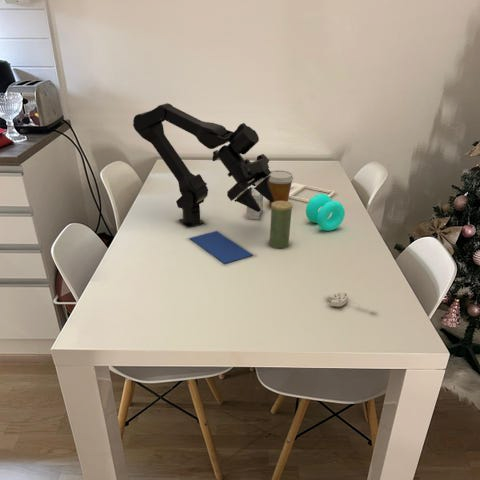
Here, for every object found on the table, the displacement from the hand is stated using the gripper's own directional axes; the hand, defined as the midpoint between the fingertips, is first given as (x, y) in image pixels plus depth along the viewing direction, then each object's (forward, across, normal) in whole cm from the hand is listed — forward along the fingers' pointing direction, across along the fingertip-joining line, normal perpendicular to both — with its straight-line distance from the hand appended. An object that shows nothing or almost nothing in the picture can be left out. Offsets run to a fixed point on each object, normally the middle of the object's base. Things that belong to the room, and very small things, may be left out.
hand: (266, 206), depth 148 cm
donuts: (+17, +21, 0) cm, 26 cm away
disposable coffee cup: (+2, +29, +14) cm, 32 cm away
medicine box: (-1, +17, +17) cm, 24 cm away
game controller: (+33, -24, -17) cm, 44 cm away
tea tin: (+12, 0, +5) cm, 12 cm away
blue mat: (+1, -11, +15) cm, 19 cm away
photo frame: (+5, +46, +11) cm, 47 cm away
